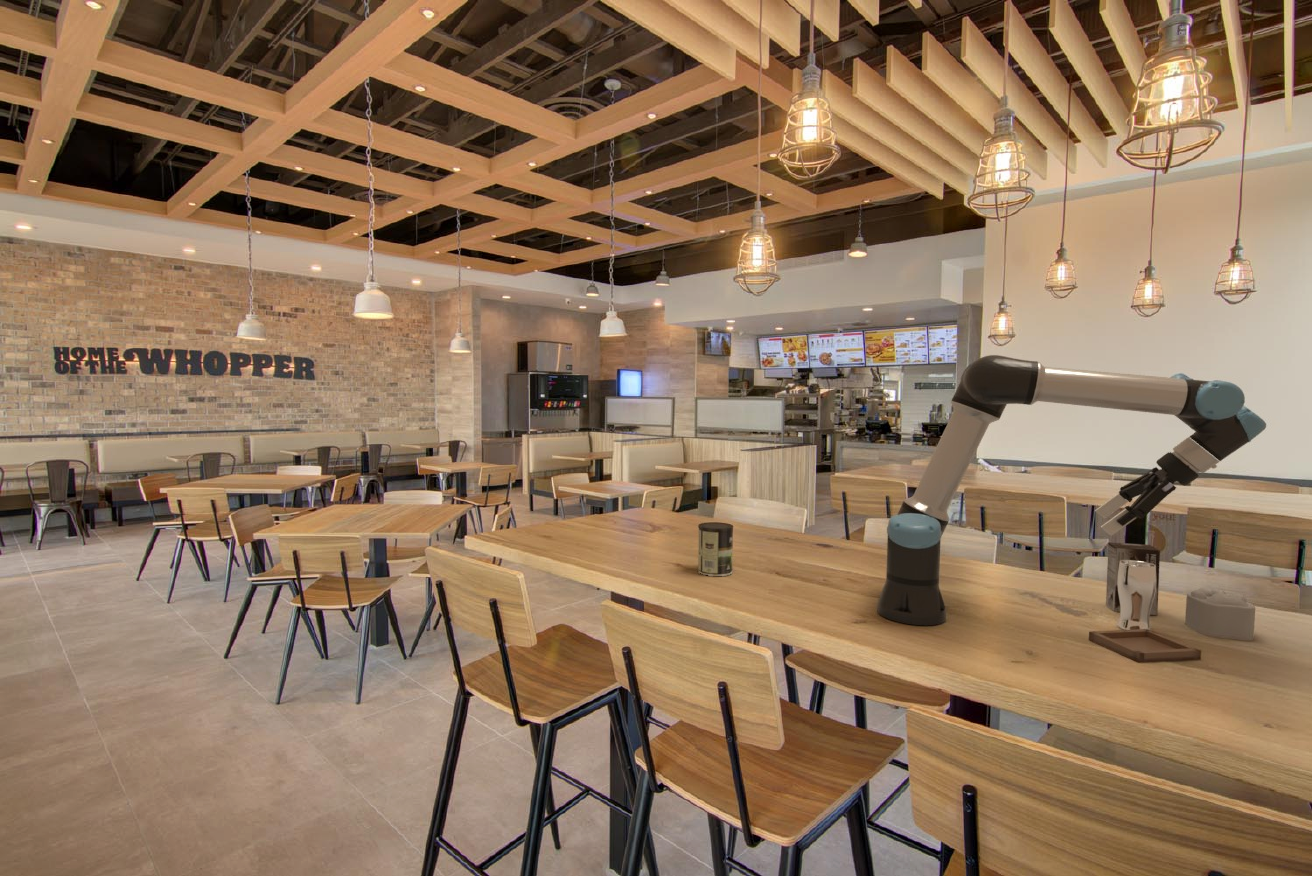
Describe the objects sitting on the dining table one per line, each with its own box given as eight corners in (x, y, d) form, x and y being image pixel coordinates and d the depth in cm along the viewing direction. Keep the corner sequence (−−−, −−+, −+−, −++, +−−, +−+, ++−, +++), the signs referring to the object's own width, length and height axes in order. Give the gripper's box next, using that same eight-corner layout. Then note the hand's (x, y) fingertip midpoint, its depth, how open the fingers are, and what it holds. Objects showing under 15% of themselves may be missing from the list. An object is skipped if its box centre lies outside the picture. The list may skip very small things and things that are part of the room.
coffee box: (1147, 608, 158) (1150, 544, 157) (1158, 616, 152) (1161, 549, 151) (1104, 603, 161) (1107, 541, 160) (1113, 611, 155) (1116, 546, 154)
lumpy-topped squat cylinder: (1202, 636, 139) (1204, 597, 139) (1174, 617, 151) (1176, 581, 151) (1261, 642, 136) (1263, 602, 135) (1227, 622, 148) (1230, 586, 148)
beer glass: (1140, 624, 146) (1143, 560, 145) (1161, 634, 139) (1165, 567, 138) (1108, 622, 147) (1111, 559, 146) (1127, 633, 140) (1131, 566, 139)
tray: (1138, 662, 124) (1138, 653, 124) (1088, 639, 136) (1089, 631, 136) (1200, 659, 126) (1201, 650, 126) (1146, 637, 138) (1146, 628, 138)
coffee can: (730, 567, 192) (731, 522, 191) (734, 577, 182) (735, 528, 181) (696, 567, 192) (697, 521, 191) (698, 576, 182) (699, 528, 181)
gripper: (1215, 488, 130) (1122, 551, 139) (1188, 462, 151) (1109, 519, 161) (1183, 462, 131) (1094, 526, 141) (1160, 440, 153) (1084, 497, 162)
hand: (1102, 522), depth 151 cm, fingers open, 13 cm apart
